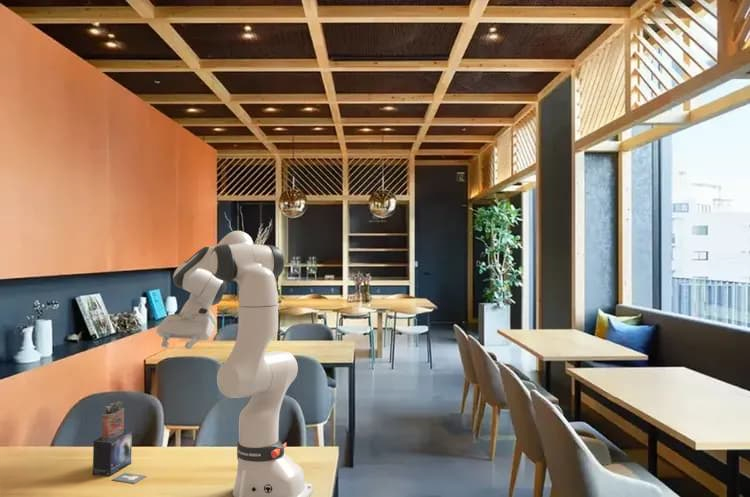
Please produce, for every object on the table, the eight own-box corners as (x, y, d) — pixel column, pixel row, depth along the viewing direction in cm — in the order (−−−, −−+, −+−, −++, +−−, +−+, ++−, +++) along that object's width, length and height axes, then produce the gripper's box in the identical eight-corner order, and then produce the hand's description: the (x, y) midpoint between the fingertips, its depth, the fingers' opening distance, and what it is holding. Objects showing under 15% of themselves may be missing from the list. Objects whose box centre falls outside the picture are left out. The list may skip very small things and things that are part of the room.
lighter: (108, 440, 164) (108, 407, 164) (99, 439, 165) (99, 406, 165) (127, 431, 172) (127, 400, 172) (118, 430, 173) (118, 399, 173)
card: (146, 476, 162) (146, 475, 162) (134, 483, 158) (134, 482, 158) (124, 473, 165) (124, 472, 165) (112, 480, 160) (112, 479, 160)
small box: (110, 477, 162) (110, 442, 162) (91, 475, 164) (91, 440, 164) (132, 463, 173) (133, 430, 173) (114, 461, 174) (115, 429, 174)
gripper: (164, 308, 194) (145, 340, 184) (214, 310, 188) (197, 343, 179) (172, 319, 198) (154, 350, 189) (221, 321, 192) (205, 354, 183)
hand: (175, 347), depth 184 cm, fingers open, 8 cm apart
